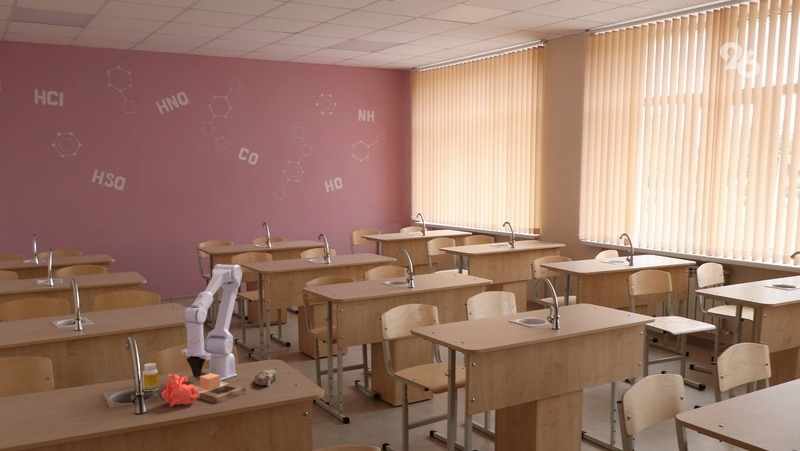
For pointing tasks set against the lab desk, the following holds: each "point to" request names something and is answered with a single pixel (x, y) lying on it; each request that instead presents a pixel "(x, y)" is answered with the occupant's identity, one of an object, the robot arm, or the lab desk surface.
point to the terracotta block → (209, 381)
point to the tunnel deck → (215, 390)
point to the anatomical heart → (179, 391)
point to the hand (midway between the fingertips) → (197, 376)
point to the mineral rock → (265, 377)
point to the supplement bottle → (150, 377)
